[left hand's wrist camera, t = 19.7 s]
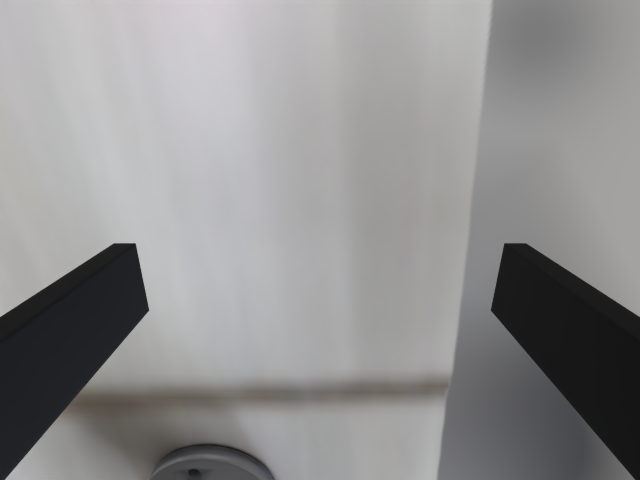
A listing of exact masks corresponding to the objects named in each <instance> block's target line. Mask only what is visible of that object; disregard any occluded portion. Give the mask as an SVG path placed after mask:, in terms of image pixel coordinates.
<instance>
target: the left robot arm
mask: <svg viewBox="0 0 640 480" xmlns="http://www.w3.org/2000/svg"><path fill="white" fill-rule="evenodd" d="M148 311H149V307H148V302H147V298H146V293H145V288H144V283H143V278H142V273H141V268H140V263H139V258H138V253H137V248H136V243H114V244H112V245H111V246H109V247H108V248H106V249H105V250H103V251H102V252H100V253H99V254H97V255H95V256H94V257H92V258H91V259H89V260H88V261H86V262H85V263H83V264H82V265H80V266H78V267H77V268H75V269H74V270H72V271H71V272H69V273H68V274H66V275H65V276H63V277H61V278H60V279H58V280H57V281H55V282H54V283H52V284H51V285H49V286H48V287H46V288H45V289H43V290H41V291H40V292H38V293H37V294H35V295H34V296H32V297H31V298H29V299H28V300H26V301H24V302H23V303H21V304H20V305H18V306H17V307H15V308H14V309H12V310H11V311H9V312H7V313H6V314H4V315H3V316H1V317H0V480H5V479H6V478H7V476H8V475H9V474H10V473H11V472H12V471H13V469H14V468H15V467H16V466H17V465H18V464H19V462H20V461H21V460H22V459H23V458H24V456H25V455H26V454H27V453H28V452H29V451H30V449H31V448H32V447H33V446H34V445H35V444H36V442H37V441H38V440H39V439H40V438H41V437H42V435H43V434H44V433H45V432H46V431H47V430H48V428H49V427H50V426H51V425H52V424H53V422H54V421H55V420H56V419H57V418H58V417H59V415H60V414H61V413H62V412H63V411H64V410H65V408H66V407H67V406H68V405H69V404H70V403H71V401H72V400H73V399H74V398H75V397H76V396H77V394H78V393H79V392H80V391H81V390H82V388H83V387H84V386H85V385H86V384H87V383H88V381H89V380H90V379H91V378H92V377H93V376H94V374H95V373H96V372H97V371H98V370H99V369H100V367H101V366H102V365H103V364H104V363H105V362H106V360H107V359H108V358H109V357H110V356H111V354H112V353H113V352H114V351H115V350H116V349H117V347H118V346H119V345H120V344H121V343H122V342H123V340H124V339H125V338H126V337H127V336H128V335H129V333H130V332H131V331H132V330H133V329H134V328H135V326H136V325H137V324H138V323H139V322H140V320H141V319H142V318H143V317H144V316H145V315H146V313H147V312H148ZM491 311H492V312H493V313H494V315H495V316H496V317H497V318H498V319H499V320H500V322H501V323H502V324H503V325H504V326H505V328H506V329H507V330H508V331H509V332H510V333H511V334H512V336H513V337H514V338H515V339H516V340H517V342H518V343H519V344H520V345H521V346H522V347H523V349H524V350H525V351H526V352H527V353H528V354H529V356H530V357H531V358H532V359H533V360H534V362H535V363H536V364H537V365H538V366H539V367H540V368H541V370H542V371H543V372H544V373H545V374H546V376H547V377H548V378H549V379H550V380H551V381H552V383H553V384H554V385H555V386H556V387H557V388H558V390H559V391H560V392H561V393H562V394H563V395H564V397H565V398H566V399H567V400H568V401H569V402H570V404H571V405H572V406H573V407H574V408H575V410H576V411H577V412H578V413H579V414H580V415H581V417H582V418H583V419H584V420H585V421H586V422H587V424H588V425H589V426H590V427H591V428H592V430H593V431H594V432H595V433H596V434H597V435H598V437H599V438H600V439H601V440H602V441H603V442H604V444H605V445H606V446H607V447H608V448H609V449H610V451H611V452H612V453H613V454H614V455H615V456H616V458H617V459H618V460H619V461H620V462H621V464H622V465H623V466H624V467H625V468H626V469H627V471H628V472H629V473H630V474H631V475H632V476H633V478H634V479H635V480H640V317H639V316H637V315H636V314H634V313H633V312H631V311H629V310H628V309H626V308H625V307H623V306H622V305H620V304H619V303H617V302H616V301H614V300H612V299H611V298H609V297H608V296H606V295H605V294H603V293H602V292H600V291H599V290H597V289H595V288H594V287H592V286H591V285H589V284H588V283H586V282H585V281H583V280H582V279H580V278H578V277H577V276H575V275H574V274H572V273H571V272H569V271H568V270H566V269H565V268H563V267H561V266H560V265H558V264H557V263H555V262H554V261H552V260H551V259H549V258H548V257H546V256H545V255H543V254H541V253H540V252H538V251H537V250H535V249H534V248H532V247H531V246H529V245H528V244H526V243H525V244H524V243H506V244H504V248H503V253H502V258H501V263H500V268H499V273H498V278H497V283H496V288H495V293H494V298H493V302H492V307H491ZM150 480H274V479H273V477H272V475H271V474H270V472H269V471H268V470H267V469H266V468H265V467H264V466H263V465H262V464H261V463H260V462H258V461H257V460H255V459H254V458H252V457H250V456H248V455H246V454H244V453H242V452H239V451H237V450H233V449H230V448H226V447H220V446H210V445H200V446H191V447H186V448H182V449H179V450H177V451H174V452H172V453H170V454H169V455H167V456H166V457H164V458H163V459H162V460H161V461H160V462H159V463H158V464H157V466H156V467H155V469H154V471H153V473H152V475H151V478H150Z"/></svg>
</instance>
